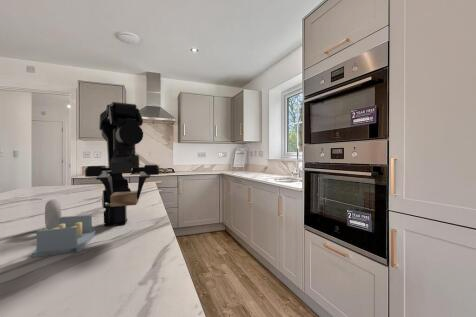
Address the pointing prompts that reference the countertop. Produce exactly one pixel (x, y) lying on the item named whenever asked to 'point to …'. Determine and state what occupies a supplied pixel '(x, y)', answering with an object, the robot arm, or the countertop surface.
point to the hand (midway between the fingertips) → (125, 200)
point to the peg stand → (65, 236)
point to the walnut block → (123, 198)
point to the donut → (52, 214)
